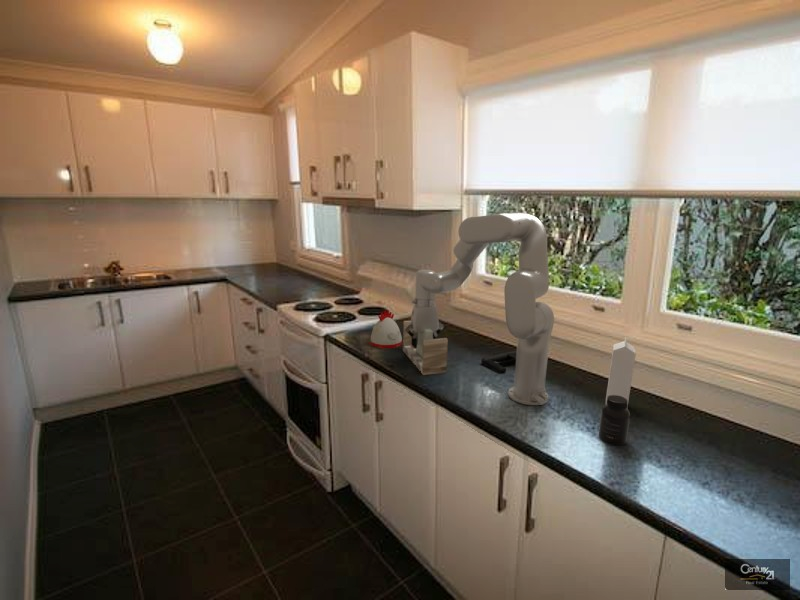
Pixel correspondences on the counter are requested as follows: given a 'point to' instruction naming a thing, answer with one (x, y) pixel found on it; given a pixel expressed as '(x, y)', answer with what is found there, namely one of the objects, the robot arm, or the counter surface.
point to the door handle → (493, 361)
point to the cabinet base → (427, 353)
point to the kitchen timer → (386, 332)
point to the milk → (621, 370)
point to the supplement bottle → (614, 421)
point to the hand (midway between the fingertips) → (423, 345)
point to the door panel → (420, 337)
